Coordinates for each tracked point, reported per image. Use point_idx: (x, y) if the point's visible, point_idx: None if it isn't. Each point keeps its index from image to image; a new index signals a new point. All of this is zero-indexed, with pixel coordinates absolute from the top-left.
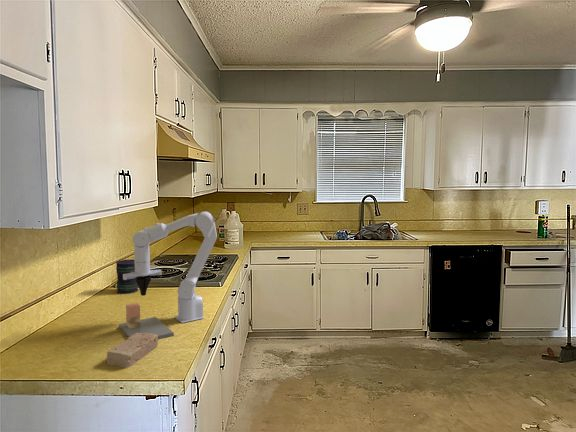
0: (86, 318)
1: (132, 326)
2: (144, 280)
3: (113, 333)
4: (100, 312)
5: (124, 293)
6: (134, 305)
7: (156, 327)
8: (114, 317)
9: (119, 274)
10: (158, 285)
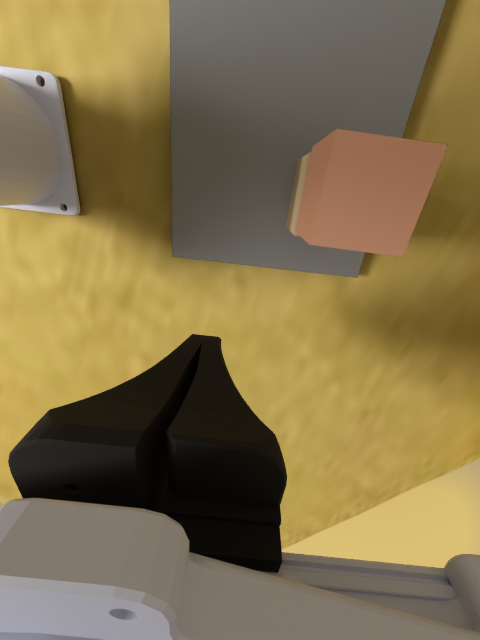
0: (378, 433)
1: None
2: (156, 449)
3: None
4: (313, 455)
5: None
6: (367, 180)
7: (233, 52)
8: (303, 388)
9: None
10: None
